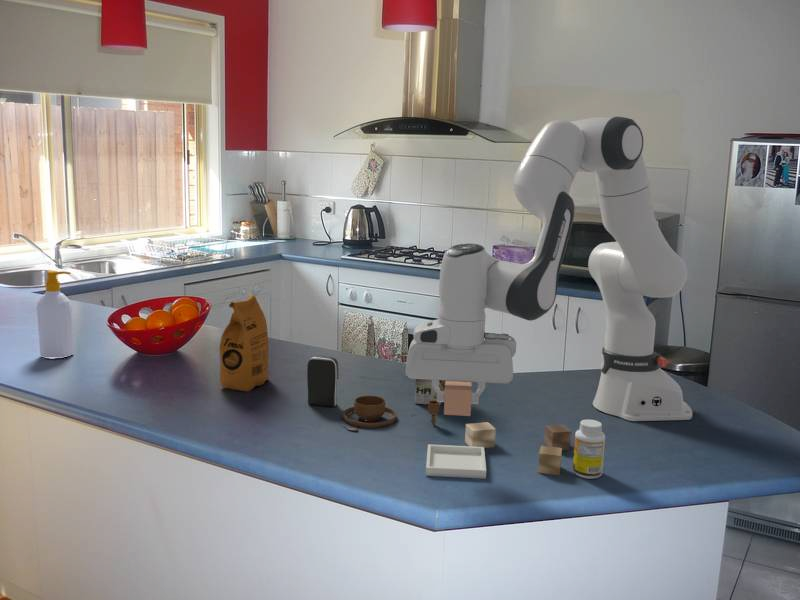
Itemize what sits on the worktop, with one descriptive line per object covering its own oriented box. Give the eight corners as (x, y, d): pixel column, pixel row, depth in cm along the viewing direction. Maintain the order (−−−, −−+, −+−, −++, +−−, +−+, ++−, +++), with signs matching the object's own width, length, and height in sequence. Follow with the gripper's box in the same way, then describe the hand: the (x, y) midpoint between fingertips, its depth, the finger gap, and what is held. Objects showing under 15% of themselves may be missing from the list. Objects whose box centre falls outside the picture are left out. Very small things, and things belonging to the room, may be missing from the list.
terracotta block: (470, 407, 150) (471, 382, 149) (470, 416, 145) (471, 390, 144) (444, 405, 150) (445, 380, 149) (443, 414, 145) (444, 389, 144)
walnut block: (562, 442, 163) (563, 424, 162) (570, 449, 159) (571, 431, 158) (544, 443, 162) (545, 425, 161) (551, 450, 158) (553, 432, 157)
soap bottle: (68, 360, 211) (63, 274, 206) (34, 359, 211) (28, 273, 206) (82, 351, 219) (77, 269, 214) (49, 351, 219) (43, 268, 215)
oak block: (560, 467, 150) (562, 447, 149) (559, 475, 146) (560, 455, 146) (539, 464, 151) (541, 445, 150) (538, 472, 147) (539, 453, 147)
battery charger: (340, 402, 183) (340, 356, 181) (334, 408, 179) (335, 360, 177) (312, 399, 185) (312, 353, 182) (306, 404, 181) (306, 357, 179)
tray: (483, 454, 155) (484, 447, 155) (485, 478, 144) (486, 470, 144) (427, 451, 156) (428, 444, 155) (425, 475, 145) (426, 467, 144)
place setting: (377, 405, 184) (378, 381, 183) (443, 427, 171) (444, 401, 170) (323, 423, 171) (323, 398, 170) (390, 449, 158) (390, 421, 157)
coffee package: (213, 388, 191) (211, 301, 187) (241, 374, 202) (239, 292, 198) (248, 393, 188) (247, 305, 183) (274, 379, 199) (273, 295, 194)
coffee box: (440, 406, 182) (443, 340, 179) (413, 403, 184) (415, 338, 180) (446, 394, 191) (448, 330, 188) (420, 391, 192) (422, 328, 189)
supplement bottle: (580, 465, 151) (584, 415, 149) (607, 473, 148) (611, 422, 146) (566, 474, 147) (570, 423, 145) (593, 482, 143) (598, 430, 141)
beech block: (487, 440, 163) (488, 422, 162) (494, 447, 159) (495, 429, 158) (464, 442, 162) (465, 424, 161) (471, 449, 158) (472, 431, 157)
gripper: (515, 330, 147) (511, 399, 150) (408, 325, 148) (405, 394, 151) (518, 338, 141) (513, 410, 143) (406, 333, 142) (403, 404, 145)
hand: (457, 402), depth 147 cm, fingers closed on terracotta block, 5 cm apart
